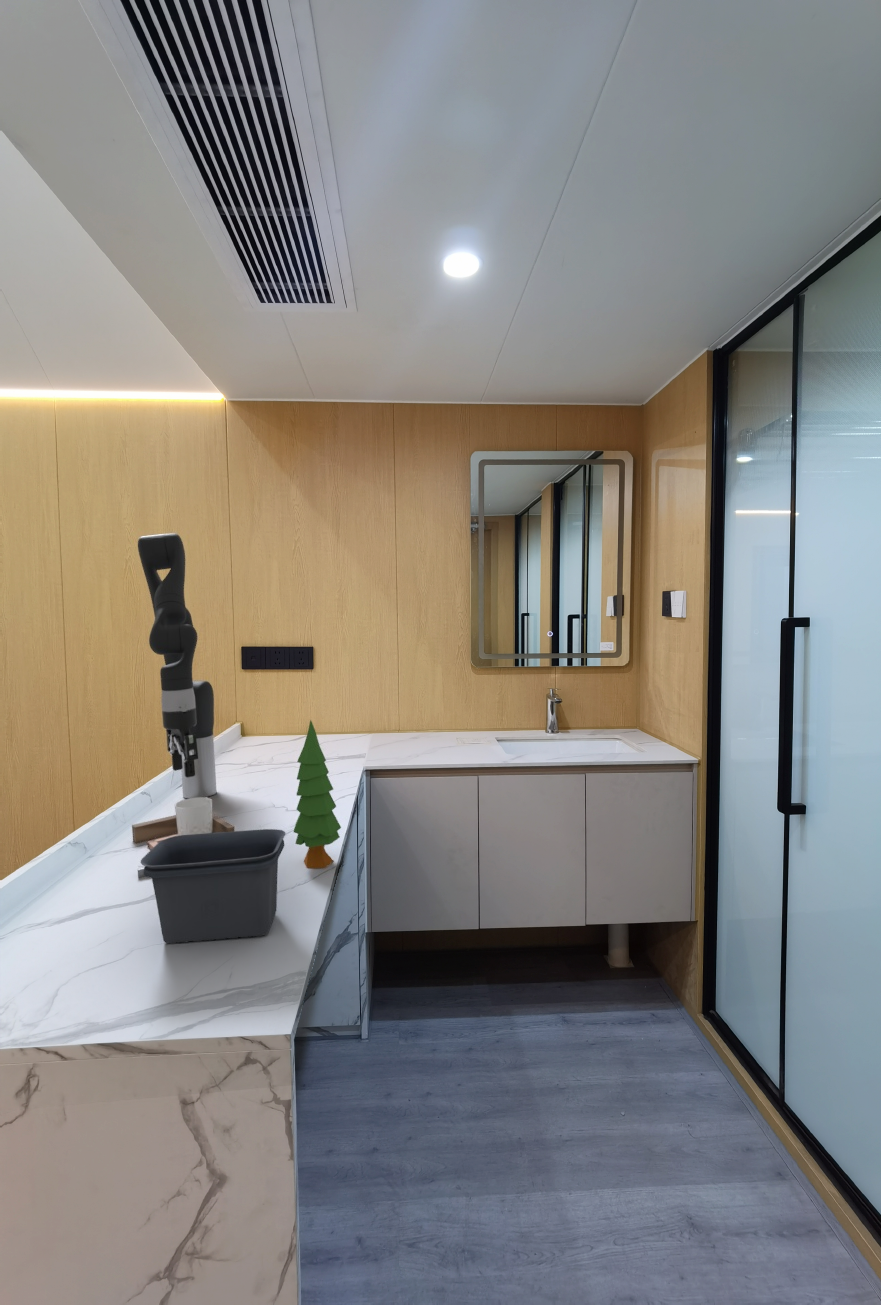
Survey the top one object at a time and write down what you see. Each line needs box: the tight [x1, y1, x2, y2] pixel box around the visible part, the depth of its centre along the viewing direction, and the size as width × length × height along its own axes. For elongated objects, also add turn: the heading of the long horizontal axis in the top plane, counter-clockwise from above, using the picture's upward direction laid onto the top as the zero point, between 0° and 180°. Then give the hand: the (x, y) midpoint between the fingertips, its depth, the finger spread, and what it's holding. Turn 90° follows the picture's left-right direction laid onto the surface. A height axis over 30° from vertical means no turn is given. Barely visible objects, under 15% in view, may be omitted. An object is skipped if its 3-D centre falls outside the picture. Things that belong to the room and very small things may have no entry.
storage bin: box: [140, 828, 286, 944], centre depth 106 cm, size 21×16×14 cm
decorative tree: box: [293, 719, 342, 869], centre depth 130 cm, size 10×9×30 cm
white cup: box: [174, 797, 213, 836], centre depth 143 cm, size 8×8×10 cm
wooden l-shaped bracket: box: [131, 812, 236, 844], centre depth 146 cm, size 19×17×4 cm
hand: (183, 773), depth 154 cm, fingers open, 8 cm apart
